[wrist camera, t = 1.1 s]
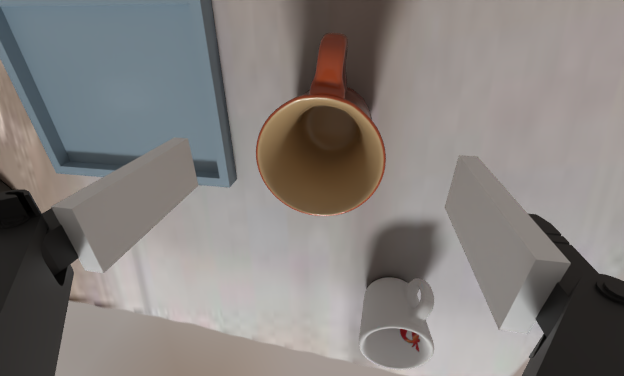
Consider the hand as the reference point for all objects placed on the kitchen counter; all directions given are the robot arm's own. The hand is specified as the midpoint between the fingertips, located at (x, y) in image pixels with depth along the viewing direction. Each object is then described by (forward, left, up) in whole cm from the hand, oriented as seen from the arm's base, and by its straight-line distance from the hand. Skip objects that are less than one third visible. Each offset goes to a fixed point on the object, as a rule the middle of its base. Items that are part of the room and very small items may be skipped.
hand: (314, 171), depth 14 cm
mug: (0, 0, -15) cm, 15 cm away
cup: (+9, -23, -15) cm, 29 cm away
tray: (-22, 0, -15) cm, 27 cm away
